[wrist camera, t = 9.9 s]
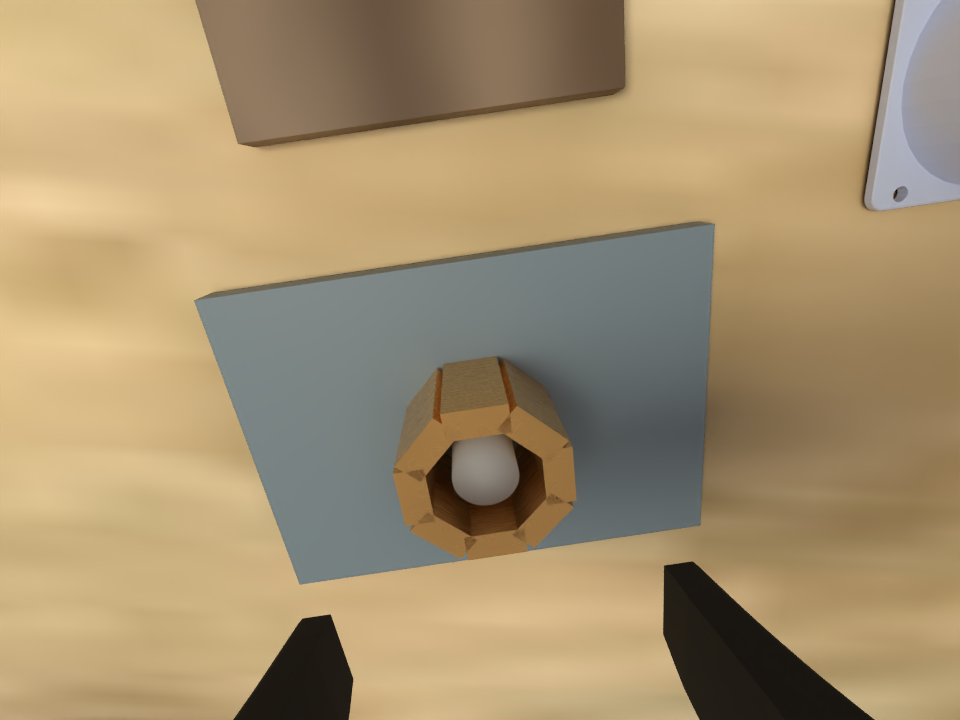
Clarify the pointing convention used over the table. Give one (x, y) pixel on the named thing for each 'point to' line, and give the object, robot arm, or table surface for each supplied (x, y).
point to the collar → (472, 414)
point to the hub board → (466, 336)
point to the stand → (404, 60)
